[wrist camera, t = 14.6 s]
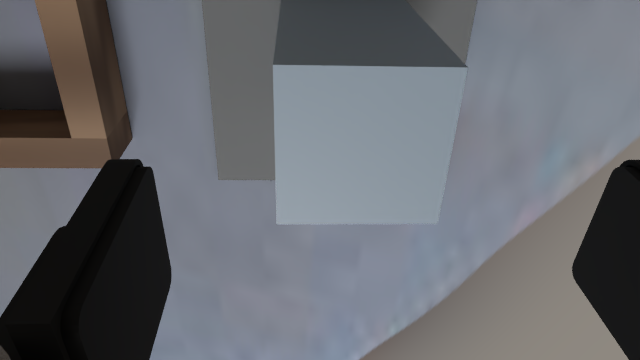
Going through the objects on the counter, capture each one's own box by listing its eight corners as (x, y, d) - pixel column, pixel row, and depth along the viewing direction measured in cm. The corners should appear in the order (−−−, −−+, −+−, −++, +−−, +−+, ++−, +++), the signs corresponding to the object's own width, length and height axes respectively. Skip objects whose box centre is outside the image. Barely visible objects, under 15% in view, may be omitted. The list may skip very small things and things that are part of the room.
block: (282, -11, 21) (272, 64, 12) (398, -8, 21) (468, 67, 12) (283, 99, 23) (276, 224, 15) (386, 100, 24) (437, 224, 15)
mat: (190, -138, 19) (188, -138, 18) (497, -126, 19) (501, -126, 19) (219, 176, 26) (218, 180, 26) (440, 176, 26) (442, 180, 26)
